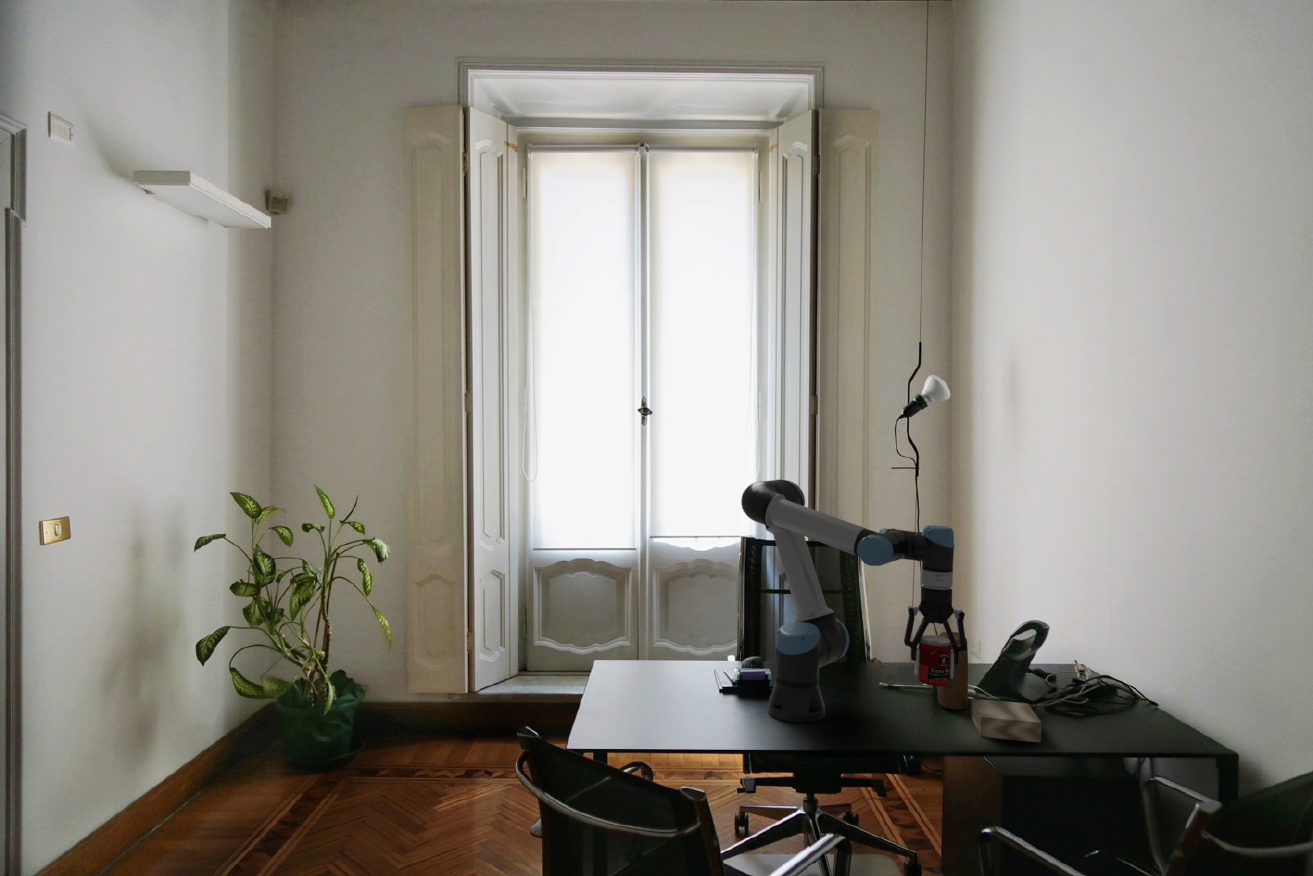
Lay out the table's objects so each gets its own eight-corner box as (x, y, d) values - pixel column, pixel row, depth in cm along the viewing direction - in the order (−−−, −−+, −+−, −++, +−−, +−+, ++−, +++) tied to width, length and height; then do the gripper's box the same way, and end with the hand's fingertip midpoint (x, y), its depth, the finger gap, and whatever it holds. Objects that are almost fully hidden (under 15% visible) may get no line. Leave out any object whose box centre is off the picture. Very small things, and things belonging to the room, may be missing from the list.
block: (968, 712, 214) (970, 639, 213) (940, 710, 215) (941, 637, 215) (961, 699, 224) (962, 630, 224) (933, 697, 226) (935, 628, 225)
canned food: (929, 687, 195) (931, 644, 195) (911, 677, 203) (912, 635, 203) (956, 686, 197) (957, 642, 197) (936, 676, 205) (938, 634, 205)
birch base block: (980, 736, 196) (980, 717, 196) (971, 717, 210) (971, 698, 210) (1040, 742, 193) (1041, 722, 193) (1027, 722, 207) (1027, 703, 207)
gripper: (896, 586, 198) (893, 675, 199) (982, 592, 194) (978, 684, 194) (894, 580, 205) (891, 666, 206) (976, 586, 201) (973, 674, 201)
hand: (933, 675), depth 200 cm, fingers closed on canned food, 8 cm apart
